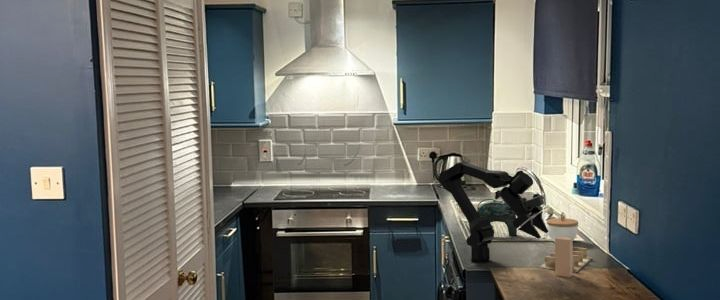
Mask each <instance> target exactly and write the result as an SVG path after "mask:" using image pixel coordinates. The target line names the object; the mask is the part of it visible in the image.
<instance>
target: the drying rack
mask: <svg viewBox="0 0 720 300" xmlns="http://www.w3.org/2000/svg"><path fill="white" fill-rule="evenodd" d="M592 258H593V257H591V256H588V248H587V247H585V248H584V247H578V246H573V273H576V272H577V273H578V272H579V271H580V270H581V269H582V268H584V267H585V266H586V265H587V264H588V263H589V262H590V261H591V260H592ZM539 268H540V269H545V270H546V269H547V270H554V271H555V252H550V253H549V255H547V256H544V263H542V264H541V265H540V266H539Z"/></svg>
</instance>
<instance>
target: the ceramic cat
mask: <svg viewBox="0 0 720 300" xmlns="http://www.w3.org/2000/svg"><path fill="white" fill-rule="evenodd" d="M489 200H490V201H489ZM485 201H486V202H485ZM487 201H488V202H487ZM482 202H484V203H482ZM481 203H482V204H481ZM476 211H477V212H478V214H479V216H480V217H481V218H482V219H488V220H489V221H490V223H491V224H492V223H494V222H495V223H496V222H497V223H498V222H499V223H504V224H505V226H506V228H507V231H508V232H507V233H508V236H509V237H517V234H518V233H517V232H518V228H517V229H515V228H514V227H513V226H512V222H513V221H514V220H515V219H516V218H517V216H516V215H515V214H514V212H513V211H509V207H508V205H507V204H506V203H505V202H504V201H503V200H500V201H499V200H497V199H493V198H486V199H482V200H481V201H479V203H478V204H477V208H476Z"/></svg>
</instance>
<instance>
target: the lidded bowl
mask: <svg viewBox="0 0 720 300" xmlns="http://www.w3.org/2000/svg"><path fill="white" fill-rule="evenodd" d="M546 225H547V226H546V227H547V229H548V232H547V234H548V237H549V238H550V239H551V241H553V243H554V244H555V238H557V237H567V238H573V241H574V240H575V239H576V238H577V235H578V231H579V221H578V220H576V219H573V218H566V217H565V216H563V215H562V216H561V217H556V218H554V217H553V218H549V219H547V220H546Z"/></svg>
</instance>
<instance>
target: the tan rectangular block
mask: <svg viewBox="0 0 720 300" xmlns="http://www.w3.org/2000/svg"><path fill="white" fill-rule="evenodd" d="M573 242H574V240H573V238H567V237H557V238H555V243H554V253H555V270H554V271H555V272H554V273H555V274H554V275H555V276H557V277H565V278H571V277H572V276H573V274H574V272H573V247H574V244H573Z"/></svg>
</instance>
